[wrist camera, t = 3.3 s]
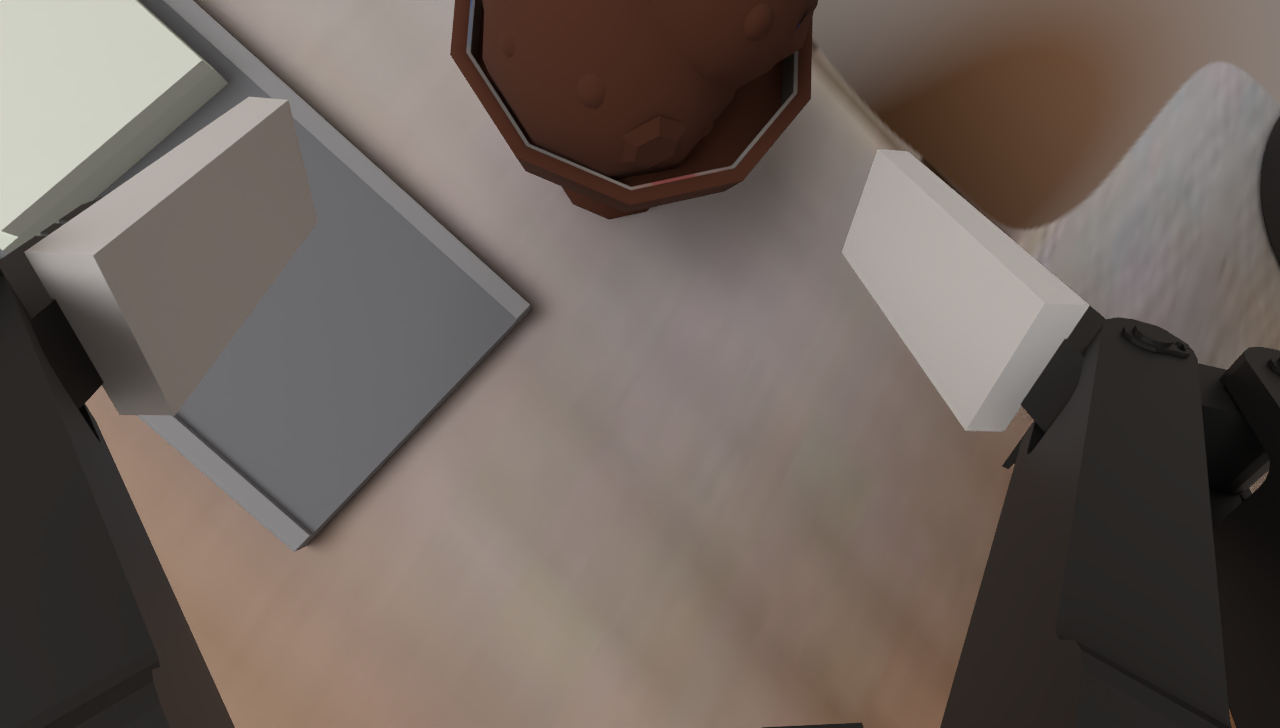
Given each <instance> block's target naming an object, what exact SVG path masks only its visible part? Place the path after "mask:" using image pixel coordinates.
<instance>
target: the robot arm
mask: <svg viewBox="0 0 1280 728" xmlns="http://www.w3.org/2000/svg"><path fill="white" fill-rule="evenodd" d="M1261 190H1262V205H1263V211H1264V217H1265V222H1266V226H1267V230H1268V233H1269V237H1270V240H1271V242H1272V245H1273V248H1274V250H1275V253H1276V255H1277V257H1278V259H1279V261H1280V118H1279V120H1278V121H1277V123H1276V125H1275V127H1274V129H1273V131H1272V134H1271V136H1270V139H1269V141H1268V144H1267V148H1266V152H1265V156H1264V161H1263V168H1262V181H1261ZM317 222H318V220H317V216H316V212H315V208H314V204H313V199H312V195H311V191H310V187H309V183H308V179H307V175H306V171H305V166H304V162H303V158H302V154H301V150H300V146H299V142H298V137H297V133H296V129H295V125H294V121H293V117H292V113H291V109H290V104H289V100H284V99H272V98H260V97H248V98H246V99H245V100H243V101H242V102H241V103H239V104H238V105H236V106H235V107H233V108H232V109H230V110H229V111H228V112H226V113H225V114H223V115H222V116H220V117H219V118H217V119H216V120H214V121H213V122H212V123H210V124H209V125H207V126H206V127H204V128H203V129H201V130H200V131H199V132H197V133H196V134H194V135H193V136H191V137H190V138H188V139H187V140H186V141H184V142H183V143H181V144H180V145H178V146H177V147H175V148H174V149H172V150H171V151H170V152H168V153H167V154H165V155H164V156H162V157H161V158H159V159H158V160H157V161H155V162H154V163H152V164H151V165H149V166H148V167H146V168H145V169H144V170H142V171H141V172H139V173H138V174H136V175H135V176H133V177H132V178H131V179H129V180H128V181H126V182H125V183H123V184H122V185H120V186H119V187H117V188H116V189H115V190H113V191H112V192H110V193H109V194H107V195H106V196H104V197H101V198H98V199H96V200H93V201H90V202H88V203H85V204H82V205H80V206H79V207H77V208H76V209H74V210H73V211H71V212H70V213H68V214H67V215H65V216H64V217H62V218H61V219H59V223H54V224H52V225H51V226H49V227H48V228H46V229H45V230H43V231H42V232H40V233H41V236H34V237H33V238H31V239H30V240H28V241H27V242H25V243H24V244H22V245H21V246H19V247H18V248H16V249H15V250H14V251H12V252H11V253H9V254H8V255H6V256H5V257H3V258H2V259H0V728H235V727H234V725H233V723H232V720H231V718H230V716H229V714H228V711H227V709H226V707H225V705H224V703H223V700H222V698H221V696H220V694H219V692H218V689H217V687H216V685H215V683H214V681H213V678H212V676H211V674H210V672H209V670H208V667H207V665H206V663H205V661H204V659H203V656H202V654H201V652H200V650H199V648H198V645H197V643H196V641H195V639H194V636H193V634H192V632H191V630H190V628H189V625H188V623H187V621H186V619H185V617H184V614H183V612H182V610H181V608H180V606H179V603H178V601H177V599H176V597H175V595H174V592H173V590H172V588H171V586H170V584H169V581H168V579H167V577H166V575H165V573H164V570H163V568H162V566H161V564H160V561H159V559H158V557H157V555H156V553H155V550H154V548H153V546H152V544H151V542H150V539H149V537H148V535H147V533H146V531H145V528H144V526H143V524H142V522H141V520H140V517H139V515H138V513H137V511H136V509H135V506H134V504H133V502H132V500H131V498H130V495H129V493H128V491H127V489H126V486H125V484H124V482H123V480H122V478H121V475H120V473H119V471H118V469H117V467H116V464H115V462H114V460H113V458H112V456H111V453H110V451H109V449H108V447H107V445H106V442H105V440H104V438H103V436H102V434H101V431H100V429H99V427H98V425H97V423H96V421H95V419H94V417H93V416H92V414H91V413H90V411H89V409H88V408H87V406H86V405H85V402H86V401H87V400H88V399H89V398H90V397H91V396H92V395H93V394H94V393H95V392H96V390H97V389H98V388H99V387H100V386H101V385H102V386H103V387H104V389H105V391H106V393H107V394H108V396H109V398H110V399H111V401H112V403H113V404H114V406H115V408H116V410H117V411H118V413H119V415H166V416H175V415H176V413H177V412H178V411H179V409H180V408H181V406H182V405H183V404H184V402H185V401H186V400H187V398H188V397H189V396H190V394H191V393H192V392H193V390H194V389H195V387H196V386H197V385H198V383H199V382H200V381H201V379H202V378H203V377H204V375H205V374H206V373H207V371H208V370H209V368H210V367H211V366H212V364H213V363H214V362H215V360H216V359H217V358H218V356H219V355H220V354H221V352H222V351H223V349H224V348H225V347H226V345H227V344H228V343H229V341H230V340H231V339H232V337H233V336H234V335H235V333H236V332H237V330H238V329H239V328H240V326H241V325H242V324H243V322H244V321H245V320H246V318H247V317H248V316H249V314H250V313H251V311H252V310H253V309H254V307H255V306H256V305H257V303H258V302H259V301H260V299H261V298H262V297H263V295H264V294H265V292H266V291H267V290H268V288H269V287H270V286H271V284H272V283H273V282H274V280H275V279H276V278H277V276H278V275H279V273H280V272H281V271H282V269H283V268H284V267H285V265H286V264H287V263H288V261H289V260H290V259H291V257H292V256H293V254H294V253H295V252H296V250H297V249H298V248H299V246H300V245H301V244H302V242H303V241H304V240H305V238H306V237H307V235H308V234H309V233H310V231H311V230H312V229H313V227H314V226H315V225H316V223H317ZM842 254H843V255H844V257H845V258H846V259H847V261H848V262H849V264H850V265H851V267H852V268H853V270H854V271H855V272H856V274H857V275H858V277H859V278H860V280H861V281H862V283H863V284H864V285H865V287H866V288H867V290H868V291H869V293H870V294H871V295H872V297H873V298H874V300H875V301H876V303H877V304H878V306H879V307H880V308H881V310H882V311H883V313H884V314H885V316H886V317H887V319H888V320H889V321H890V323H891V324H892V326H893V327H894V329H895V330H896V331H897V333H898V334H899V336H900V337H901V339H902V340H903V342H904V343H905V344H906V346H907V347H908V349H909V350H910V352H911V353H912V354H913V356H914V357H915V359H916V360H917V362H918V363H919V365H920V366H921V367H922V369H923V370H924V372H925V373H926V375H927V376H928V378H929V379H930V380H931V382H932V383H933V385H934V386H935V388H936V389H937V390H938V392H939V393H940V395H941V396H942V398H943V399H944V401H945V402H946V403H947V405H948V406H949V408H950V409H951V411H952V412H953V414H954V415H955V416H956V418H957V419H958V421H959V422H960V424H961V425H962V426H963V428H964V429H965V431H997V432H1004V431H1005V430H1006V428H1007V427H1008V425H1009V424H1010V422H1011V421H1012V419H1013V418H1014V416H1015V415H1016V413H1017V412H1018V410H1019V409H1020V408H1021V406H1023V408H1024V409H1025V410H1026V411H1027V412H1028V414H1029V415H1030V416H1031V417H1032V418H1033V420H1034V422H1033V423H1032V425H1031V426H1030V428H1029V429H1028V430H1027V432H1026V433H1025V435H1024V436H1023V437H1022V439H1021V440H1020V442H1019V443H1018V444H1017V446H1016V447H1015V449H1014V450H1013V451H1012V453H1011V454H1010V456H1009V457H1008V458H1007V460H1006V461H1005V463H1004V464H1003V467H1005V468H1007V469H1009V468H1010V467H1011V466H1012V465H1013V464H1015V466H1014V469H1013V473H1012V476H1011V480H1010V483H1009V487H1008V491H1007V494H1006V498H1005V501H1004V505H1003V508H1002V512H1001V515H1000V519H999V522H998V526H997V529H996V533H995V536H994V540H993V543H992V547H991V550H990V554H989V558H988V561H987V565H986V568H985V572H984V575H983V579H982V582H981V586H980V589H979V593H978V596H977V600H976V603H975V607H974V610H973V614H972V617H971V621H970V625H969V628H968V632H967V635H966V639H965V642H964V646H963V649H962V653H961V656H960V660H959V663H958V667H957V670H956V674H955V677H954V681H953V684H952V688H951V692H950V695H949V699H948V702H947V706H946V709H945V713H944V716H943V720H942V723H941V727H940V728H1232V727H1231V723H1230V717H1229V709H1230V712H1231V714H1232V717H1233V720H1234V723H1235V725H1236V728H1280V351H1279V350H1274V349H1269V348H1263V347H1252V348H1248V349H1247V350H1246V351H1245V352H1243V354H1242V355H1241V356H1240V357H1239V358H1238V359H1237V360H1236V361H1235V362H1234V363H1233V364H1232V365H1231V367H1230V368H1229V369H1228V370H1225V369H1220V368H1216V367H1212V366H1207V365H1203V364H1198V361H1197V357H1196V355H1195V353H1194V351H1193V350H1192V349H1191V348H1190V347H1189V345H1188V344H1186V343H1184V342H1183V341H1182V340H1180V339H1179V338H1177V337H1175V336H1174V335H1172V334H1170V333H1169V332H1168V331H1166V330H1164V329H1162V328H1160V327H1158V326H1155V325H1151V324H1148V323H1144V322H1140V321H1137V320H1133V319H1126V318H1112V319H1107V320H1106V319H1105V318H1104V317H1103V316H1101V315H1100V314H1099V313H1098V312H1097V311H1095V310H1094V309H1093V308H1092V307H1091V306H1090V305H1089V304H1088V303H1086V302H1085V301H1084V300H1083V299H1082V298H1080V297H1079V296H1078V295H1077V294H1076V293H1075V292H1073V291H1072V290H1071V289H1070V288H1069V287H1068V286H1066V285H1065V284H1064V283H1063V282H1062V281H1060V280H1059V279H1058V278H1057V277H1056V276H1055V275H1053V274H1052V273H1051V272H1050V271H1049V270H1047V269H1046V268H1045V267H1044V266H1043V265H1042V264H1040V263H1039V262H1038V261H1037V260H1036V259H1034V258H1033V257H1032V256H1031V255H1030V254H1029V253H1027V252H1026V251H1025V250H1024V249H1023V248H1021V247H1020V246H1019V245H1018V244H1017V243H1016V242H1014V241H1013V240H1012V239H1011V238H1010V237H1008V236H1007V235H1006V234H1005V233H1004V232H1003V231H1001V230H1000V229H999V228H998V227H997V226H995V225H994V224H993V223H992V222H991V221H990V220H988V219H987V218H986V217H985V216H984V215H982V214H981V213H980V212H979V211H978V210H977V209H975V208H974V207H973V206H972V205H971V204H970V203H968V202H967V201H966V200H965V199H964V198H962V197H961V196H960V195H959V194H958V193H957V192H955V191H954V190H953V189H952V188H951V187H949V186H948V185H947V184H946V183H945V182H944V181H942V180H941V179H940V178H939V177H938V176H936V175H935V174H934V173H933V172H932V171H931V170H929V169H928V168H927V167H926V166H925V165H923V164H922V163H921V162H920V161H919V160H918V159H916V158H915V157H914V156H913V155H912V154H910V153H909V152H908V151H897V150H885V149H878V150H877V153H876V156H875V159H874V162H873V164H872V167H871V170H870V173H869V176H868V179H867V181H866V184H865V187H864V190H863V193H862V196H861V199H860V201H859V204H858V207H857V210H856V213H855V216H854V218H853V221H852V224H851V227H850V230H849V233H848V236H847V238H846V241H845V244H844V247H843V250H842ZM1268 470H1269V473H1268V475H1267V478H1266V480H1265V481H1264V482H1263V484H1262V485H1261V486H1260V487H1259V488H1258V489H1257V490H1256V491H1255V492H1254V493H1253V494H1252V493H1251V491H1250V489H1249V487H1250V486H1252V485H1253V484H1254V483H1255V482H1256V481H1257V480H1258V479H1259V478H1261V477H1262V476H1263V475H1264V474H1265V473H1266V472H1267V471H1268ZM763 728H863V725H862V723H847V724H826V725H805V726H784V727H763Z"/></svg>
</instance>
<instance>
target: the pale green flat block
mask: <svg viewBox="0 0 1280 728" xmlns="http://www.w3.org/2000/svg"><path fill="white" fill-rule="evenodd" d="M227 84H228V82H227V81H226V80H225V79H224V78H223V77H222V76H221V75H220V74H219V73H218V72H217V71H216V70H215V69H214V68H213V67H212V66H211V65H210V64H208V63H207V62H206V61H205V60H204V59H203V58H202V57H201V56H200V55H198V54H197V53H196V52H195V51H194V50H193V49H192V48H191V47H190V46H188V45H187V44H186V43H185V42H184V41H183V40H182V39H181V38H180V37H178V36H177V35H176V34H175V33H174V32H173V31H172V30H171V29H170V28H168V27H167V26H166V25H165V24H164V23H163V22H162V21H161V20H160V19H158V18H157V17H156V16H155V15H154V14H153V13H152V12H151V11H150V10H148V9H147V8H146V7H145V6H144V5H143V4H142V3H141V2H140V1H138V0H0V249H1V250H2V251H6V252H9V253H11V252H12V251H14V250H15V249H16V248H18V247H19V246H21V245H22V244H24V243H25V242H27V241H28V240H30V239H31V238H33V237H34V236H41V233H40V232H42V231H43V230H45V229H46V228H48V227H49V226H51V225H52V224H54V223H59V219H61V218H62V217H64V216H65V215H67V214H68V213H70V212H71V211H73V210H74V209H76V208H77V207H79V206H80V205H82V204H85V203H88V202H90V201H93V200H94V199H95V198H96V197H98V196H99V195H100V194H101V193H102V192H103V191H104V190H106V189H107V188H108V187H109V186H110V185H111V184H113V183H114V182H115V181H116V180H117V179H118V178H119V177H121V176H122V175H123V174H124V173H125V172H126V171H128V170H129V169H130V168H131V167H132V166H133V165H135V164H136V163H137V162H138V161H139V160H140V159H141V158H143V157H144V156H145V155H146V154H147V153H148V152H150V151H151V150H152V149H153V148H154V147H155V146H156V145H158V144H159V143H160V142H161V141H162V140H163V139H165V138H166V137H167V136H168V135H169V134H170V133H172V132H173V131H174V130H175V129H176V128H177V127H178V126H180V125H181V124H182V123H183V122H184V121H185V120H187V119H188V118H189V117H190V116H191V115H192V114H193V113H195V112H196V111H197V110H198V109H199V108H200V107H202V106H203V105H204V104H205V103H206V102H207V101H208V100H210V99H211V98H212V97H213V96H214V95H215V94H217V93H218V92H219V91H220V90H221V89H222V88H224V87H225V86H226V85H227Z"/></svg>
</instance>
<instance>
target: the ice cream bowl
mask: <svg viewBox="0 0 1280 728" xmlns="http://www.w3.org/2000/svg"><path fill="white" fill-rule="evenodd" d="M817 2H818V0H455V8H454V20H453V31H452V42H451V54H450V55H451V56H452V58H453V59H454V61H455V63H456V64H457V66H458V67H459V69H460V70H461V72H462V73H463V75H464V77H465V78H466V80H467V81H468V83H469V84H470V86H471V87H472V89H473V91H474V92H475V94H476V95H477V97H478V98H479V100H480V101H481V103H482V105H483V106H484V108H485V109H486V111H487V112H488V114H489V115H490V117H491V119H492V120H493V122H494V123H495V125H496V126H497V128H498V129H499V131H500V132H501V134H502V136H503V137H504V139H505V140H506V142H507V143H508V145H509V146H510V148H511V150H512V151H513V153H514V154H515V156H516V157H517V159H518V160H519V162H520V163H521V165H522V166H523V168H524V169H525V171H527V172H529V173H532V174H534V175H536V176H539V177H541V178H544V179H546V180H548V181H551V182H553V183H555V184H558V185H560V186H562V188H563V189H564V191H565V192H566V194H567V195H568V197H569V198H570V200H571V202H572V203H573V204H574V205H576V206H579V207H581V208H584V209H586V210H588V211H591V212H593V213H596V214H598V215H600V216H603V217H605V218H608V219H613V218H618V217H622V216H627V215H631V214H636V213H640V212H645V211H647V210H648V209H649V208H650V207H654V206H659V205H663V204H668V203H673V202H677V201H682V200H686V199H691V198H696V197H700V196H705V195H709V194H714V193H718V192H723V191H726V190H727V189H729V188H731V187H733V186H734V185H736V184H738V183H740V182H741V181H743V180H744V179H745V177H746V176H747V175H748V174H749V173H750V171H751V170H752V169H753V168H754V166H755V165H756V164H757V163H758V162H759V160H760V159H761V158H762V157H763V156H764V154H765V153H766V152H767V151H768V150H769V148H770V147H771V146H772V145H773V144H774V142H775V141H776V140H777V139H778V138H779V136H780V135H781V134H782V133H783V132H784V130H785V129H786V128H787V127H788V125H789V124H790V123H791V122H792V121H793V119H794V118H795V117H796V116H797V115H798V113H799V112H800V111H801V110H802V109H803V107H804V106H805V105H806V104H807V103H808V101H809V100H810V99H811V58H812V16H813V11H814V10H815V8H816V6H817Z"/></svg>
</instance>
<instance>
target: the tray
mask: <svg viewBox="0 0 1280 728" xmlns="http://www.w3.org/2000/svg"><path fill="white" fill-rule="evenodd" d="M138 1H140V2H141V3H142V4H143V5H144V6H145V7H146V8H147V9H148V10H150V11H151V12H152V13H153V14H154V15H155V16H156V17H157V18H158V19H160V20H161V21H162V22H163V23H164V24H165V25H166V26H167V27H168V28H170V29H171V30H172V31H173V32H174V33H175V34H176V35H177V36H178V37H180V38H181V39H182V40H183V41H184V42H185V43H186V44H187V45H188V46H190V47H191V48H192V49H193V50H194V51H195V52H196V53H197V54H198V55H200V56H201V57H202V58H203V59H204V60H205V61H206V62H207V63H208V64H210V65H211V66H212V67H213V68H214V69H215V70H216V71H217V72H218V73H219V74H220V75H221V76H222V77H223V78H224V79H225V80H226V81H227V82H228V84H227V85H226V86H225V87H224V88H222V89H221V90H220V91H219V92H218V93H217V94H215V95H214V96H213V97H212V98H211V99H210V100H208V101H207V102H206V103H205V104H204V105H203V106H202V107H200V108H199V109H198V110H197V111H196V112H195V113H193V114H192V115H191V116H190V117H189V118H188V119H187V120H185V121H184V122H183V123H182V124H181V125H180V126H178V127H177V128H176V129H175V130H174V131H173V132H172V133H170V134H169V135H168V136H167V137H166V138H165V139H163V140H162V141H161V142H160V143H159V144H158V145H156V146H155V147H154V148H153V149H152V150H151V151H150V152H148V153H147V154H146V155H145V156H144V157H143V158H141V159H140V160H139V161H138V162H137V163H136V164H135V165H133V166H132V167H131V168H130V169H129V170H128V171H126V172H125V173H124V174H123V175H122V176H121V177H119V178H118V179H117V180H116V181H115V182H114V183H113V184H111V185H110V186H109V187H108V188H107V189H106V190H104V191H103V192H102V193H101V194H100V195H99V196H98V197H96V198H95V199H94V200H96V199H98V198H101V197H104V196H106V195H107V194H109V193H110V192H112V191H113V190H115V189H116V188H117V187H119V186H120V185H122V184H123V183H125V182H126V181H128V180H129V179H131V178H132V177H133V176H135V175H136V174H138V173H139V172H141V171H142V170H144V169H145V168H146V167H148V166H149V165H151V164H152V163H154V162H155V161H157V160H158V159H159V158H161V157H162V156H164V155H165V154H167V153H168V152H170V151H171V150H172V149H174V148H175V147H177V146H178V145H180V144H181V143H183V142H184V141H186V140H187V139H188V138H190V137H191V136H193V135H194V134H196V133H197V132H199V131H200V130H201V129H203V128H204V127H206V126H207V125H209V124H210V123H212V122H213V121H214V120H216V119H217V118H219V117H220V116H222V115H223V114H225V113H226V112H228V111H229V110H230V109H232V108H233V107H235V106H236V105H238V104H239V103H241V102H242V101H243V100H245V99H246V98H248V97H260V98H272V99H284V100H289V104H290V109H291V113H292V117H293V121H294V125H295V129H296V133H297V137H298V142H299V146H300V150H301V154H302V158H303V162H304V166H305V171H306V175H307V179H308V183H309V187H310V191H311V195H312V199H313V204H314V208H315V212H316V216H317V220H318V222H317V223H316V225H315V226H314V227H313V229H312V230H311V231H310V233H309V234H308V235H307V237H306V238H305V240H304V241H303V242H302V244H301V245H300V246H299V248H298V249H297V250H296V252H295V253H294V254H293V256H292V257H291V259H290V260H289V261H288V263H287V264H286V265H285V267H284V268H283V269H282V271H281V272H280V273H279V275H278V276H277V278H276V279H275V280H274V282H273V283H272V284H271V286H270V287H269V288H268V290H267V291H266V292H265V294H264V295H263V297H262V298H261V299H260V301H259V302H258V303H257V305H256V306H255V307H254V309H253V310H252V311H251V313H250V314H249V316H248V317H247V318H246V320H245V321H244V322H243V324H242V325H241V326H240V328H239V329H238V330H237V332H236V333H235V335H234V336H233V337H232V339H231V340H230V341H229V343H228V344H227V345H226V347H225V348H224V349H223V351H222V352H221V354H220V355H219V356H218V358H217V359H216V360H215V362H214V363H213V364H212V366H211V367H210V368H209V370H208V371H207V373H206V374H205V375H204V377H203V378H202V379H201V381H200V382H199V383H198V385H197V386H196V387H195V389H194V390H193V392H192V393H191V394H190V396H189V397H188V398H187V400H186V401H185V402H184V404H183V405H182V406H181V408H180V409H179V411H178V412H177V413H176V415H175V416H166V415H137V416H138V417H139V418H140V419H141V420H143V421H144V422H145V423H146V424H147V425H148V426H150V427H151V428H152V429H153V430H154V431H155V432H156V433H158V434H159V435H160V436H161V437H162V438H163V439H164V440H166V441H167V442H168V443H169V444H170V445H171V446H173V447H174V448H175V449H176V450H177V451H178V452H179V453H181V454H182V455H183V456H184V457H185V458H186V459H187V460H189V461H190V462H191V463H192V464H193V465H194V466H195V467H197V468H198V469H199V470H200V471H201V472H202V473H204V474H205V475H206V476H207V477H208V478H209V479H210V480H212V481H213V482H214V483H215V484H216V485H217V486H218V487H220V488H221V489H222V490H223V491H224V492H225V493H227V494H228V495H229V496H230V497H231V498H232V499H233V500H235V501H236V502H237V503H238V504H239V505H240V506H241V507H243V508H244V509H245V510H246V511H247V512H248V513H249V514H251V515H252V516H253V517H254V518H255V519H256V520H258V521H259V522H260V523H261V524H262V525H263V526H264V527H266V528H267V529H268V530H269V531H270V532H271V533H272V534H274V535H275V536H276V537H277V538H278V539H279V540H280V541H282V542H283V543H284V544H285V545H286V546H287V547H289V548H290V549H291V550H292V551H293V552H295V551H297V550H299V549H301V548H303V547H305V546H306V545H307V544H308V543H309V542H310V541H311V540H312V539H313V538H314V537H315V536H316V535H317V534H318V533H319V532H320V531H321V530H322V529H323V528H324V527H325V526H326V525H327V523H328V522H329V521H330V520H331V519H332V518H333V517H334V516H335V515H336V514H337V513H338V512H339V511H340V510H341V509H342V508H343V507H344V506H345V505H346V504H347V502H348V501H349V500H350V499H351V498H352V497H353V496H354V495H355V494H356V493H357V492H358V491H359V490H360V489H361V488H362V487H363V486H364V485H365V484H366V483H367V481H368V480H369V479H370V478H371V477H372V476H373V475H374V474H375V473H376V472H377V471H378V470H379V469H380V468H381V467H382V466H383V465H384V464H385V463H386V462H387V461H388V459H389V458H390V457H391V456H392V455H393V454H394V453H395V452H396V451H397V450H398V449H399V448H400V447H401V446H402V445H403V444H404V443H405V442H406V441H407V440H408V438H409V437H410V436H411V435H412V434H413V433H414V432H415V431H416V430H417V429H418V428H419V427H420V426H421V425H422V424H423V423H424V422H425V421H426V420H427V419H428V417H429V416H430V415H431V414H432V413H433V412H434V411H435V410H436V409H437V408H438V407H439V406H440V405H441V404H442V403H443V402H444V401H445V400H446V399H447V398H448V396H449V395H450V394H451V393H452V392H453V391H454V390H455V389H456V388H457V387H458V386H459V385H460V384H461V383H462V382H463V381H464V380H465V379H466V378H467V377H468V376H469V374H470V373H471V372H472V371H473V370H474V369H475V368H476V367H477V366H478V365H479V364H480V363H481V362H482V361H483V360H484V359H485V358H486V357H487V356H488V355H489V353H490V352H491V351H492V350H493V349H494V348H495V347H496V346H497V345H498V344H499V343H500V342H501V341H502V340H503V339H504V338H505V337H506V336H507V335H508V334H509V332H510V331H511V330H512V329H513V328H514V327H515V326H516V325H517V324H518V323H519V322H520V321H521V320H522V319H523V318H524V317H525V316H526V315H527V314H528V313H529V312H530V310H531V307H530V304H529V303H528V302H526V301H525V300H524V299H523V298H522V297H521V296H520V295H519V294H518V293H516V292H515V291H514V290H513V289H512V288H511V287H510V286H509V285H508V284H506V283H505V282H504V281H503V280H502V279H501V278H500V277H499V276H498V275H497V274H495V273H494V272H493V271H492V270H491V269H490V268H489V267H488V266H487V265H485V264H484V263H483V262H482V261H481V260H480V259H479V258H478V257H477V256H475V255H474V254H473V253H472V252H471V251H470V250H469V249H468V248H467V247H465V246H464V245H463V244H462V243H461V242H460V241H459V240H458V239H457V238H456V237H454V236H453V235H452V234H451V233H450V232H449V231H448V230H447V229H446V228H444V227H443V226H442V225H441V224H440V223H439V222H438V221H437V220H436V219H434V218H433V217H432V216H431V215H430V214H429V213H428V212H427V211H426V210H425V209H423V208H422V207H421V206H420V205H419V204H418V203H417V202H416V201H415V200H413V199H412V198H411V197H410V196H409V195H408V194H407V193H406V192H405V191H403V190H402V189H401V188H400V187H399V186H398V185H397V184H396V183H395V182H394V181H392V180H391V179H390V178H389V177H388V176H387V175H386V174H385V173H384V172H382V171H381V170H380V169H379V168H378V167H377V166H376V165H375V164H374V163H372V162H371V161H370V160H369V159H368V158H367V157H366V156H365V155H364V154H363V153H361V152H360V151H359V150H358V149H357V148H356V147H355V146H354V145H353V144H351V143H350V142H349V141H348V140H347V139H346V138H345V137H344V136H343V135H341V134H340V133H339V132H338V131H337V130H336V129H335V128H334V127H333V126H331V125H330V124H329V123H328V122H327V121H326V120H325V119H324V118H323V117H322V116H320V115H319V114H318V113H317V112H316V111H315V110H314V109H313V108H312V107H310V106H309V105H308V104H307V103H306V102H305V101H304V100H303V99H302V98H300V97H299V96H298V95H297V94H296V93H295V92H294V91H293V90H292V89H291V88H289V87H288V86H287V85H286V84H285V83H284V82H283V81H282V80H281V79H279V78H278V77H277V76H276V75H275V74H274V73H273V72H272V71H271V70H269V69H268V68H267V67H266V66H265V65H264V64H263V63H262V62H261V61H260V60H258V59H257V58H256V57H255V56H254V55H253V54H252V53H251V52H250V51H248V50H247V49H246V48H245V47H244V46H243V45H242V44H241V43H240V42H238V41H237V40H236V39H235V38H234V37H233V36H232V35H231V34H230V33H228V32H227V31H226V30H225V29H224V28H223V27H222V26H221V25H220V24H219V23H217V22H216V21H215V20H214V19H213V18H212V17H211V16H210V15H209V14H207V13H206V12H205V11H204V10H203V9H202V8H201V7H200V6H199V5H197V4H196V3H195V2H194V1H193V0H138ZM8 254H9V252H6V251H2V250H1V249H0V259H2V258H3V257H5V256H6V255H8Z"/></svg>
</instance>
